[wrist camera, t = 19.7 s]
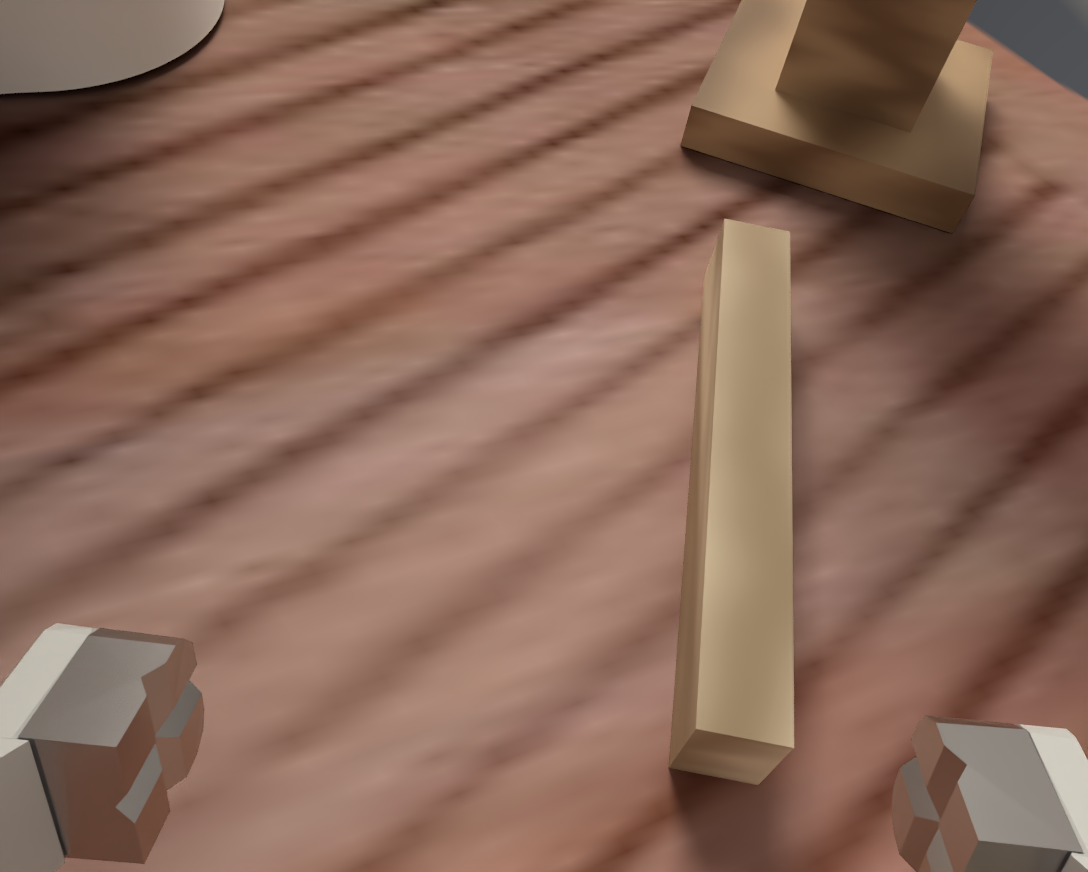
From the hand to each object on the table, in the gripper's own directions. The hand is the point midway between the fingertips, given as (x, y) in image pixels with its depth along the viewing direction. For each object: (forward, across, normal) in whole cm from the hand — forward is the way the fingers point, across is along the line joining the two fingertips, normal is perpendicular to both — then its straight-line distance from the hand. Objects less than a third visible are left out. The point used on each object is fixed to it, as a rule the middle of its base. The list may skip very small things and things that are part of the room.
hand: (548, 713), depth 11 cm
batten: (+19, -5, +9) cm, 21 cm away
